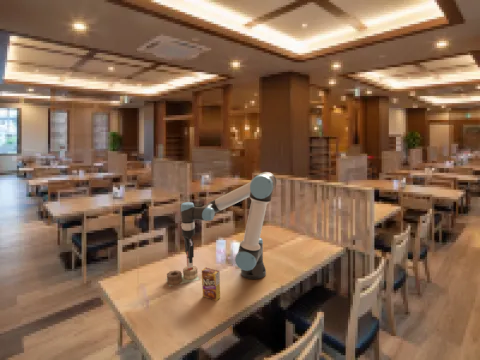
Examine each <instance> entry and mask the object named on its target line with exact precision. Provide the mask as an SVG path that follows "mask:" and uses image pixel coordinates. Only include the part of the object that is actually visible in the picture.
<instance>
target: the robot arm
mask: <svg viewBox="0 0 480 360" xmlns="http://www.w3.org/2000/svg"><path fill="white" fill-rule="evenodd" d="M276 186H277V178H276V176H275V175H274V174H273V173H271V172H269V171H264V172H261V173H259V174H257V175H256V176H254V177H253V178H252V179H251V180H250V182H248V183H246V184H244V185H242V186H239V187H238V188H236V189H234V190H232V191H229V192H228V193H226V194H224V195H221V196H219V197H217V198H216V199H213V200H211V201H209V202H208V203H206V204H205V205H203V206H195V204H194V202H192V201H191V202H190V201H187V202H186V201H185V202H182V203H181V204H180V217H181V218H180V220H181V224H180V227H181V236H182V237H183V239H184V250H185V251H184V252H185V255H186V259H187V258H188V263H187V262H186V266H188V268H192V267H193V266H194V261H193V260H194V259H193V258H194V254H195V253H194V249H195V248H194V246H195V244H194V243H195V242H194V241H193V240H194V239H193V238H192V237H194V236H195V234H196V230H195V227H196V225H195V221H205V222H207V221H208V222H209V221H210V222H211V221H213V220H214V218H215V214H217V213H219V212H221V211H223V210H224V209H227V208H229V207H232V206H234V205H235V204H237V203H239V202H242V201H243V200H244V201H245V200H246V199H248V198H250V200H251V203H250V205H249V206H250V207H249V212H248V215H247V221H246V225H245V229H244V231H245V232H244V235H243V240H241V241H240V242H239V246H238V251H237V253H236V254H235V258H234V261H235V264H236V266H237V267H238V268H239V269H240V274H241V276H242V277H243V278H245V279H248V280H259V279H262V278H264V277H265V276H266V274H267V272H266V271H267V270H266V266H265V263H264V250H263V249H264V247H263V246H264V241H263V238H261V235H262V229H263V225H264V220H265V215H266V211H267V207H268V204H270V202H271V200H272V198H273V197H272V196H273V192H274V191H275V188H276ZM187 251H188V257H187Z"/></svg>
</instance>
